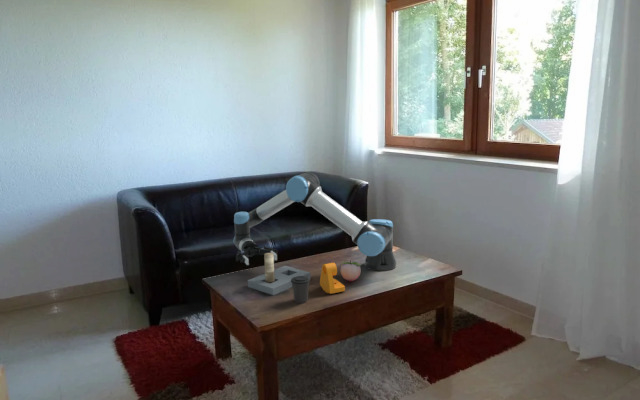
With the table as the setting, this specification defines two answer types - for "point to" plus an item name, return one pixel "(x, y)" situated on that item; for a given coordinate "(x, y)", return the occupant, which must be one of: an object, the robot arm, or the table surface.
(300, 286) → the coffee cup
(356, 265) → the decorative fruit
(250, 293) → the table surface
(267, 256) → the maple leg
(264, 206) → the robot arm
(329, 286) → the bracket
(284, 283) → the stool seat
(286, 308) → the table surface
